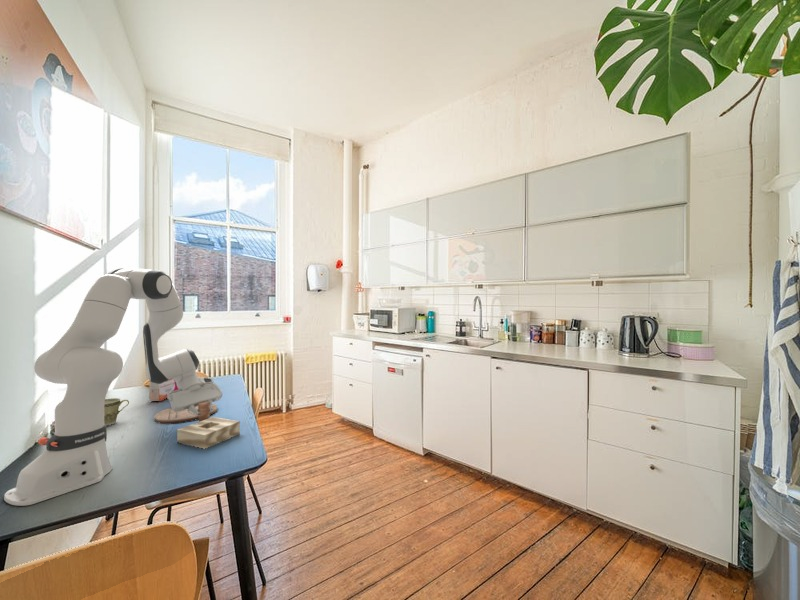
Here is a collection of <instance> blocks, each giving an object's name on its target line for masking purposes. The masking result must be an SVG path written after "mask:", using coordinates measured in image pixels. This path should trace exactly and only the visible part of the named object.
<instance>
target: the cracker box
mask: <svg viewBox="0 0 800 600" xmlns="http://www.w3.org/2000/svg"><path fill="white" fill-rule="evenodd" d="M148 381H149V380H148ZM148 384H149V386H148V387H149V388H148V389H149V402H150V401H160V402H162V401H164V399H165V400H167V399H168V398H167V394H168V393H169V392H170V391H173V390H174V388H175V382H174V379H173V378H171V379H169V380H168V381H166V382H163V383H161V384H157V383H153V382H150V381H149V383H148ZM166 398H167V399H166Z"/></svg>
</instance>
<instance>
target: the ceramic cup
mask: <svg viewBox="0 0 800 600" xmlns="http://www.w3.org/2000/svg"><path fill="white" fill-rule="evenodd" d="M124 402H127V403H126V405H125V406H123V407H122V408H121V409H120V408H119V407H120V406H121V405H122V403H124ZM129 404H130V401H129V400H128V399H122V400H121V398H118V397H117V398H116V397H114V398H113V397H112V398H105V404H104V424H106V427H108V426H107V425H109V426H112V425H115V424H117V423H116V422H117V417H118V415H119V414H120V413H121V412H122V411H123V410H124V409H125V408H126V407H128V405H129ZM119 409H120V410H119ZM114 423H115V424H114ZM111 424H112V425H111Z"/></svg>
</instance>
